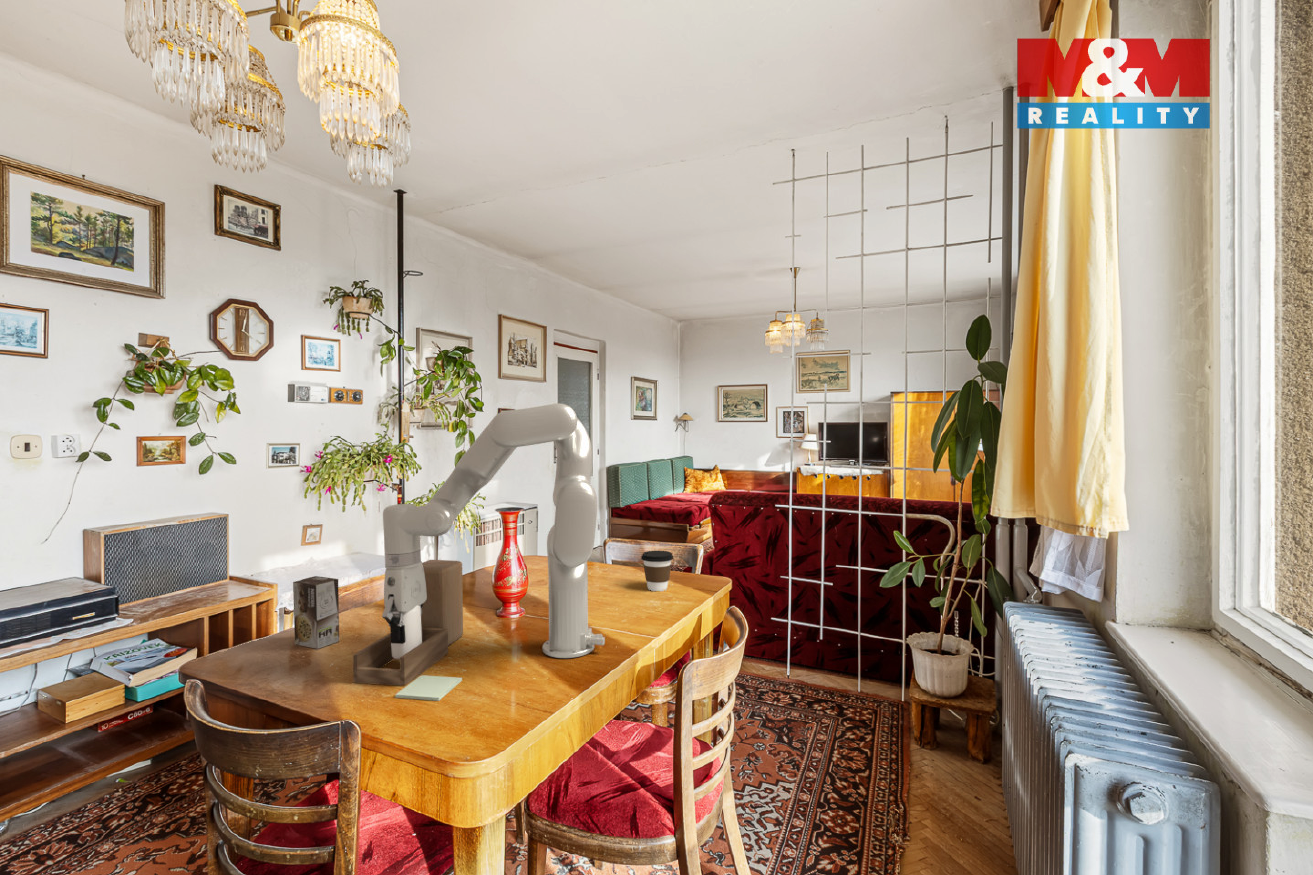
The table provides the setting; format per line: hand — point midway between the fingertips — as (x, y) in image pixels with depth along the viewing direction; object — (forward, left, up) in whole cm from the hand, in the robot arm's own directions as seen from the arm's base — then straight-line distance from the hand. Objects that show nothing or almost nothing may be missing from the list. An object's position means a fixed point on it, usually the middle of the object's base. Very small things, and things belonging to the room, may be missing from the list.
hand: (406, 636), depth 134 cm
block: (+2, -16, -7) cm, 17 cm away
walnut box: (+1, 0, -7) cm, 7 cm away
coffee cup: (-46, -72, -7) cm, 86 cm away
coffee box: (+32, -11, -7) cm, 34 cm away
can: (0, 0, -4) cm, 4 cm away
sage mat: (-11, +10, -7) cm, 16 cm away
